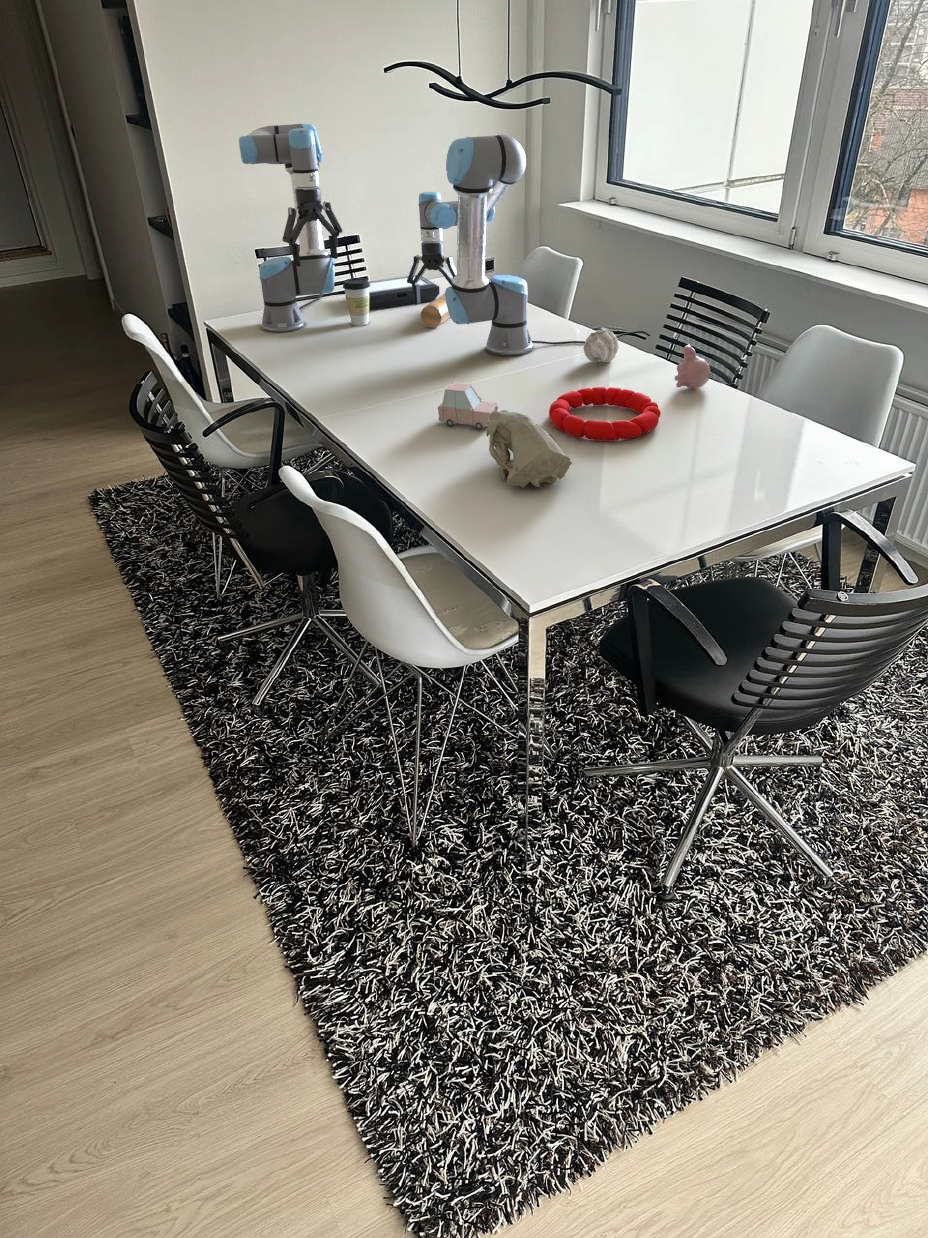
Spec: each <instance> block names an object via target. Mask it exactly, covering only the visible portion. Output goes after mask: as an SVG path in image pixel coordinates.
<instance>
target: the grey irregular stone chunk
mask: <svg viewBox="0 0 928 1238" xmlns="http://www.w3.org/2000/svg"><path fill="white" fill-rule="evenodd" d="M485 436H486V438H487V437H489V438H488V440H489V444H488V445H489V446H488V450H489V454H490V456H491V457H492V458H493V459H494V460H495V462H496V464H497V466H499V468H500V470H501V471H502V472H501V478H502V479H507V480H506V484H507V486H517V487H518V486H519V488H523V489H524V488H526V486H527V485H529V483H531V485H533V486H534V487H536V488H540V485H541V484H542V482H544V483H549V484H550V485H553V484H555V483H556V482H557V480H561V479H563V478H565V476H566V474H567V472H568V471H569V469H570V467H571V466H572V464H573V462H572V461H571V458H570V457H568V456H567V455H565V453H564V451H562V449H561V448H560V446H559V444H557V443H556V439H555V438H554V436H553V435H551V434H550V433H548V432H547V431H546V430H545V429H544V428H542V427H541V426H539V425H538V424H537V423H536V424H535V422H534V421H533V419H532V418H531V417H530V416H529V415H527V414H524V413H519V412H515V411H509V410H507V409H502V410H500V411H499V410H497V411H496V412H492V413H491V414H490V422H488V423H487V427H486V435H485ZM511 453H512V454H511ZM511 455H512V457H513V458H512V460H511ZM507 474H508V475H507Z"/></svg>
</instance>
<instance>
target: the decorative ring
mask: <svg viewBox="0 0 928 1238" xmlns="http://www.w3.org/2000/svg"><path fill="white" fill-rule="evenodd" d="M583 405H584V406H586V407H587V406H591V405H593V406H604V405H608V406H614V407H619V408H624V409H628V410H632V411H635V412H636V413H638V414H639V415H637V416H635V417H632V418H631V419H630V420H625V419H624V420H623V419H622V420H614V421H611V422H609V421H607V420H606V421H605V420H593V419H587V420H586V421H585V419H584V418H582V417H579V416H577V415H573V414H571V413H570V410H571V409H579V408H581V407H582V406H583ZM548 416H549V419H550V422H551V423H552V425H553V426H554V427H555V428H556V429H558V430H559V431H561V432H563V433H567V434H568V435H569V436H573V437H576V438H580V439H582V438H583V437H585V438H586V439H587V440H591V441H601V442H602V441H603V442H608V441H609V442H610V441H611V442H612V441H615V442H616V441H618V440H630V439H634V438H638V437H641V436H642V434H647V433H650V432H651V431H653V430H654V429H655V428H656V427H657V426H658V424H659V422H660V421H659V420H660V417H661V410H660V408H659V405H658V403H657V402H656V401H652V399H651V397H649V396H648V395H646V394H644V393H642V392H635V391H634V390H632V389H628V388H624V389H622V388H620V387H613V386H612V387H611V386H610V387H608V388H606V387H604V386H594V387H585V388H584V387H583V388H580V389H578V390H571V391H568V392H565V393H563V394H561V395H560V396H558V397H557V398H556V400H554V401H552V403H551V404H550V407H549V409H548Z"/></svg>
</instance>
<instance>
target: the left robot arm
mask: <svg viewBox="0 0 928 1238" xmlns="http://www.w3.org/2000/svg"><path fill="white" fill-rule="evenodd" d="M238 145H239V153H240V159H241V162H242V164H244V165H258V164H268V165H284V169H285V171H286V172H287V173H288V174H289V175H290V180H291V187H292V195H293V203H294V207H288V208H287V219H286V224H285V228H284V231H283V235H282V240H281V241H282V242H283V243H286V244H288V249H289V254H290V256H292V258H291V257H290V256H277V257H273V258H270V259H267V260H264V261H263V262H261V263H260V265H259V266H258V270H259V280H260V285H261V286H260V287H261V292H262V299H263V313H262V319H261V326H262V330H264V331H265V332H271V333H286V332H293V331H296V330H297V331H298V330H300V329H302V328H304V326H305V319H304V317H303V314H302V312H301V310H302V309H303V308H305V307H307V306H309V305H311V304H313V303H315V302H317V301H318V300H320V299H321V298H322V297H323V296H324V294H331V293H333V291H334V290H335V282H336V281H335V276H336V275H335V274H336V272H335V271H336V270H335V268H336V267H335V260H337V259H338V249H337V247H339V238H338V237H339V236H340V234H341V233H343V229H342V226H341V224H340V223H339V221H338V219H337V217H336V215H335V213H334V211H333V209H332V204H331V202H328V201H323V203H322V194H321V193H322V192H321V188H320V176H319V169H320V163H322V162H323V161H324V158H323V153H322V149H321V144H320V139H319V135H318V131H317V129H316V127H315V126H314V125H313V124H311V123H293V124H276V125H274V124H273V125H266V126H263V127H260V128H257V129H254V130H252V131H251V132H250V133H249V134H247V135H242V136H239V138H238ZM322 211H324V212H325V215H326V216H327V218H328V220H327V218H326V217H325V216H324V214H323V213H322ZM323 227H324V228H325V230H326V231H327V232H328V233H329V234H330V235H328V243H329V251H328V250H327V249H326V248H325V240H324V232H323V231H324V230H323ZM297 240H298V242H299V243H297ZM314 295H319V296H318V297H316V298H315V299H312V300H311V301H309V302H307V303H304V304H302V305H301V306H298V305H299V304H298V303H297V297H300V296H301V297H302V296H303V297H304V296H314Z"/></svg>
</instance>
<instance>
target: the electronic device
mask: <svg viewBox="0 0 928 1238" xmlns="http://www.w3.org/2000/svg"><path fill="white" fill-rule="evenodd" d="M408 276H409V275H407V276H399V277H393V278H386V279H378V280H369V281H368V282H369V283H370V287H369V311H371V310H378V309H383V308H392V307H399V306H405V305H406V306H407V305H413V304H416V303H415V294H413V291H412V284H410V283H407V279H408ZM416 276H417V274H415V275H414V278H415V277H416ZM414 278H413V280H414ZM417 284H419V286H420V302H421V303H427V302H433V301H434V300H436V299H437V298H438V297H439V295H440V285H437V284H436V283H434V282H432V281H430V280H429V279H427V278H425V277H423V276H422V277H421V278H420V280H419V281H418V282H417Z"/></svg>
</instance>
